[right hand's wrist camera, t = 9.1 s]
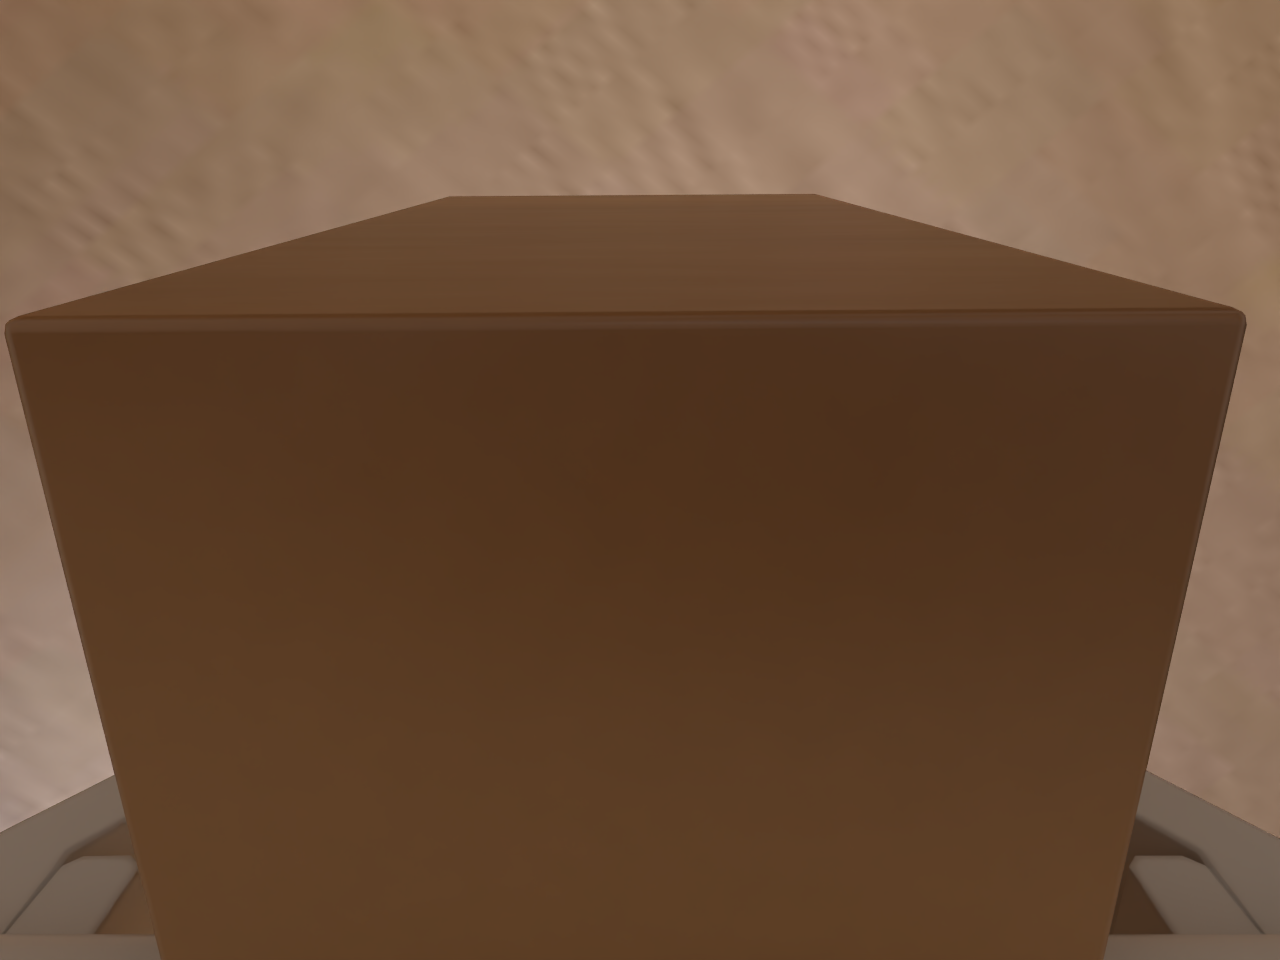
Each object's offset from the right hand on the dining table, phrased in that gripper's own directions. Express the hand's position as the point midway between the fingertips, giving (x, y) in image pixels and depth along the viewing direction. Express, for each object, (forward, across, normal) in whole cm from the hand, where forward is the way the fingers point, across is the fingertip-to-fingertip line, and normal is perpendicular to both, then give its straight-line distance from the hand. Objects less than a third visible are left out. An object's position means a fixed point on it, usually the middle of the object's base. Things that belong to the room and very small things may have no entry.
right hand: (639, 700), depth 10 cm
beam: (+4, 0, -21) cm, 22 cm away
